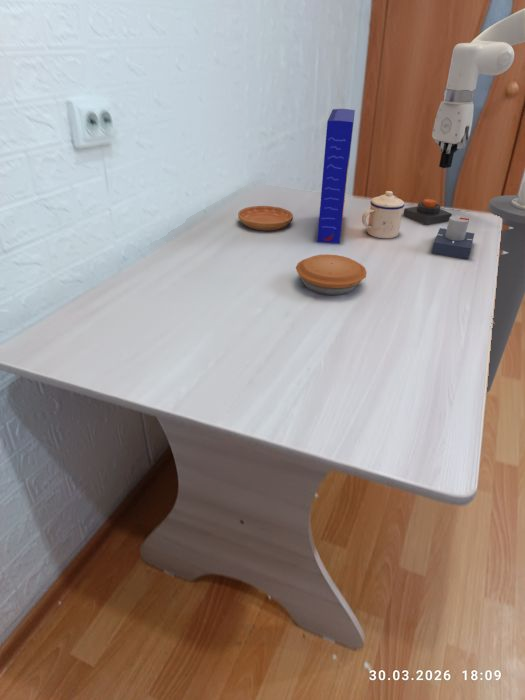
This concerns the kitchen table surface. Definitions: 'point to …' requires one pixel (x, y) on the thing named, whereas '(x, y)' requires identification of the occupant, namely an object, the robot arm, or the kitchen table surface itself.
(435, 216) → the switch block
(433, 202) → the button
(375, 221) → the teacup with lid
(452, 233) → the dial
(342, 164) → the cereal box
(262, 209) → the saucer
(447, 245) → the dial panel
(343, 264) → the pie
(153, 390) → the kitchen table surface
